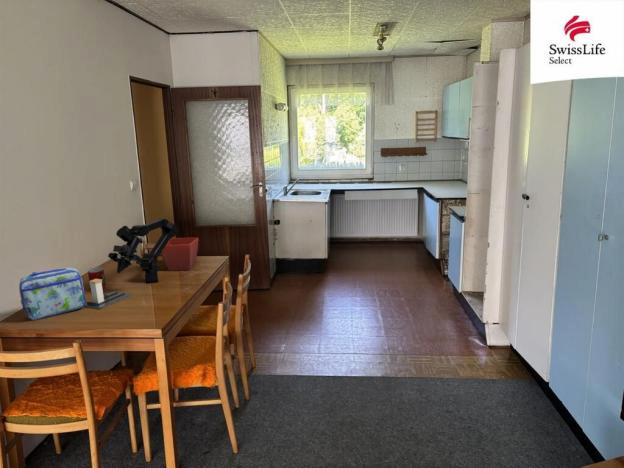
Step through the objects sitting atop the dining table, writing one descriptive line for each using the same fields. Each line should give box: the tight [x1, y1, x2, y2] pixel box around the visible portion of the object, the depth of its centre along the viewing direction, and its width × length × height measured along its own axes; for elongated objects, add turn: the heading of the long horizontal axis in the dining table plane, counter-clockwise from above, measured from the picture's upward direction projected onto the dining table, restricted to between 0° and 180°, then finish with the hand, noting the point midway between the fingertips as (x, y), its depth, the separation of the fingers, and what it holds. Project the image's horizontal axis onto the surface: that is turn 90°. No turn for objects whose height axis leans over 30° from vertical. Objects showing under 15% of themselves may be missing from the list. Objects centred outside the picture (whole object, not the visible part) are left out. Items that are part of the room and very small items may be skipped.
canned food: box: [87, 266, 107, 291], centre depth 253 cm, size 8×8×11 cm
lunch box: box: [18, 267, 87, 321], centre depth 219 cm, size 26×11×21 cm, turn 123°
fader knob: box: [88, 279, 104, 303], centre depth 228 cm, size 4×4×11 cm
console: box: [83, 290, 133, 310], centre depth 234 cm, size 20×12×3 cm, turn 156°
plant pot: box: [160, 237, 199, 272], centre depth 285 cm, size 19×19×17 cm
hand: (118, 272), depth 239 cm, fingers closed
